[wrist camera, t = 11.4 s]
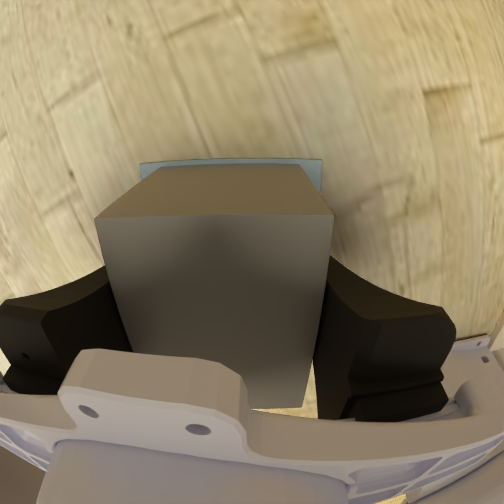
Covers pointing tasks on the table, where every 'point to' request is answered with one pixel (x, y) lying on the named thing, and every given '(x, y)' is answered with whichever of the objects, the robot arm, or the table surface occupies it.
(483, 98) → the table surface
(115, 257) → the taupe rectangular post
